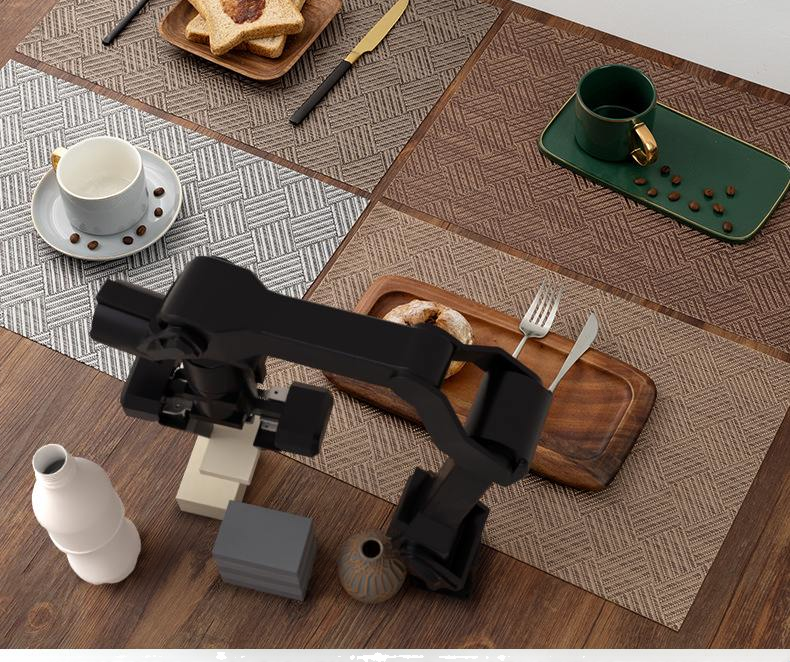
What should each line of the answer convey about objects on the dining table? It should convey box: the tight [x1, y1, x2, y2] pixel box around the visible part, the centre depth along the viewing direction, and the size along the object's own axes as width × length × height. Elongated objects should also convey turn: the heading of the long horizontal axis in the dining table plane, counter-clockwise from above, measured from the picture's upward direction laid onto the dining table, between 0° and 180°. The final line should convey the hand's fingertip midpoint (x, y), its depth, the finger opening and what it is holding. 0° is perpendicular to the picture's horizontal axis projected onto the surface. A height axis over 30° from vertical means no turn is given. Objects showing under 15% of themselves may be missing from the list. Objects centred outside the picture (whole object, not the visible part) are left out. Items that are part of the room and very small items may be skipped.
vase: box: [337, 528, 408, 604], centre depth 113 cm, size 7×7×9 cm
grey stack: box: [211, 500, 319, 602], centre depth 113 cm, size 8×6×9 cm, turn 77°
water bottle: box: [31, 443, 142, 586], centre depth 107 cm, size 7×7×25 cm
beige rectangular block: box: [175, 435, 248, 521], centre depth 120 cm, size 6×8×4 cm
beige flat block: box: [199, 414, 262, 486], centre depth 110 cm, size 8×5×1 cm, turn 167°
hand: (237, 439), depth 110 cm, fingers closed on beige flat block, 5 cm apart
